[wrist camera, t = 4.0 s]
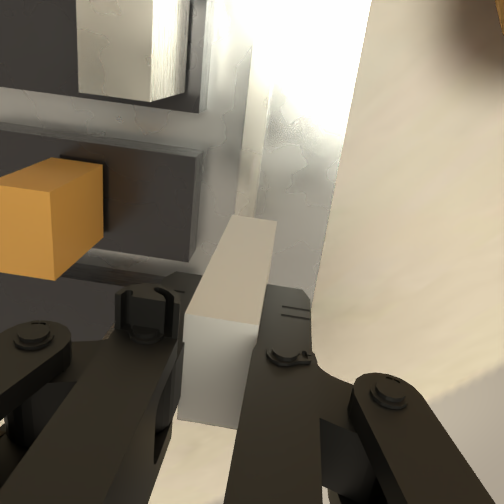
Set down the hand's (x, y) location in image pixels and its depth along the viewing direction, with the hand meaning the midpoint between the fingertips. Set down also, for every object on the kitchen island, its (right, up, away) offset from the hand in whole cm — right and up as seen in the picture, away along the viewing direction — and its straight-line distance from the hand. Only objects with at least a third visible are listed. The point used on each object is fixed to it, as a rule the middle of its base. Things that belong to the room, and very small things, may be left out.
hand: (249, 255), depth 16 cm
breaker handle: (-7, +2, +3) cm, 8 cm away
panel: (-6, +4, +6) cm, 10 cm away
